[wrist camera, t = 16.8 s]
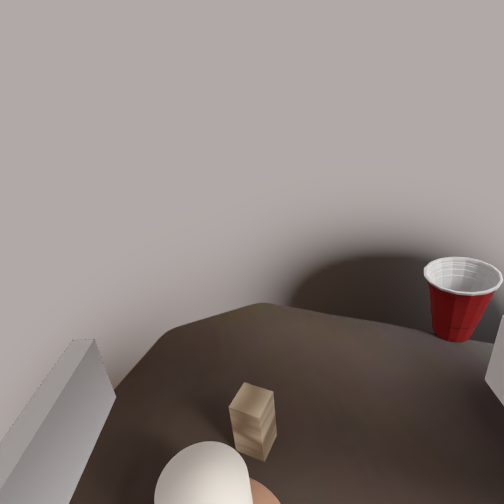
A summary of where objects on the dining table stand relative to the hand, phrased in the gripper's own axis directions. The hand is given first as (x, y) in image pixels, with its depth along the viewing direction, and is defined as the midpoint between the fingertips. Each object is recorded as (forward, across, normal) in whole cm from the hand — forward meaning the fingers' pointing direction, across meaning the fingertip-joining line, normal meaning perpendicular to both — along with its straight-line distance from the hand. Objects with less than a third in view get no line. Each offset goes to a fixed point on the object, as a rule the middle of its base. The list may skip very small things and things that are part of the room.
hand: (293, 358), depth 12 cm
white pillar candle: (+9, -8, -33) cm, 35 cm away
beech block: (+21, -4, -34) cm, 40 cm away
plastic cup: (+40, +29, -34) cm, 60 cm away
